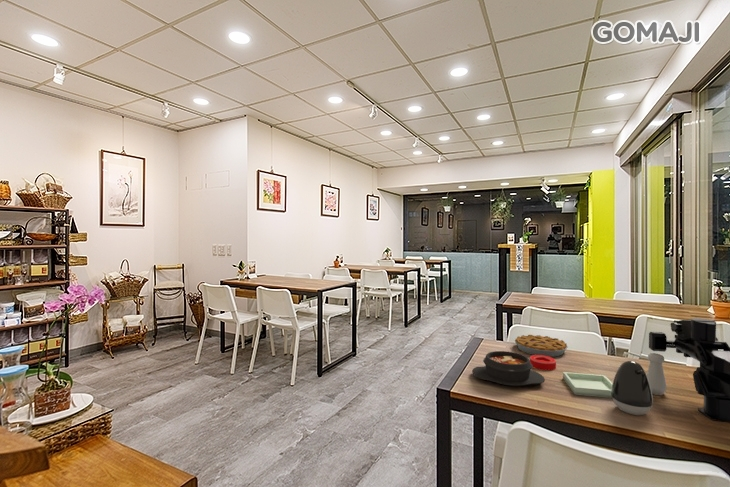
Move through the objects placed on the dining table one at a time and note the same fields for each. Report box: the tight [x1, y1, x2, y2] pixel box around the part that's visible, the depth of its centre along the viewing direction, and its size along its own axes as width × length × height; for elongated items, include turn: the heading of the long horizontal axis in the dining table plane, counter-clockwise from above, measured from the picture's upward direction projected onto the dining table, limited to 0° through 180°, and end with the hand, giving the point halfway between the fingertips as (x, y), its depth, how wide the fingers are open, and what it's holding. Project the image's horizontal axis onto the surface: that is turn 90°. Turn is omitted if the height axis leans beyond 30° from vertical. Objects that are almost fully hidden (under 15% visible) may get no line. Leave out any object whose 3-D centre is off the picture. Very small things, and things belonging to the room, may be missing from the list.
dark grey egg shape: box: [611, 360, 654, 416], centre depth 108 cm, size 10×10×15 cm
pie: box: [514, 334, 569, 358], centre depth 165 cm, size 22×22×5 cm
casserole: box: [471, 350, 546, 387], centre depth 132 cm, size 25×19×8 cm
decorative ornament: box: [529, 354, 557, 371], centre depth 145 cm, size 10×10×3 cm
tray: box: [562, 371, 613, 399], centre depth 124 cm, size 14×14×2 cm
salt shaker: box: [646, 352, 668, 396], centre depth 120 cm, size 6×6×13 cm
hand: (668, 336), depth 129 cm, fingers open, 9 cm apart
